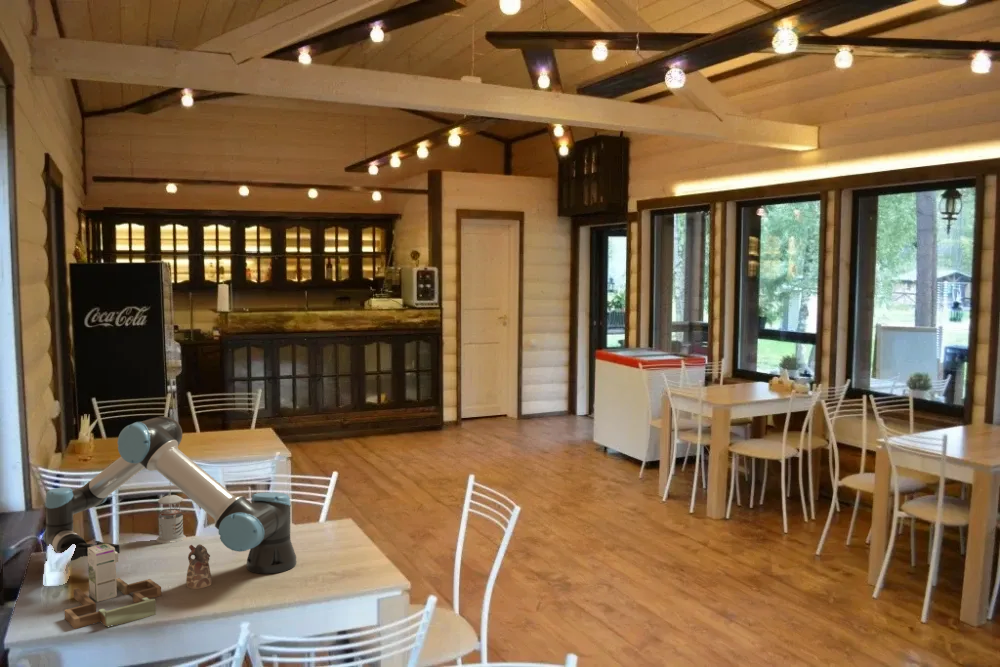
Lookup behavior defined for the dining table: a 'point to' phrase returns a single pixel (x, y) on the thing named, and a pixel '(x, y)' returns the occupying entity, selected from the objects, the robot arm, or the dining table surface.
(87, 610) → the channel
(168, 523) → the french press
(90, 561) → the syrup box
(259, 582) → the dining table surface
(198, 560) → the figurine
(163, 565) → the dining table surface
